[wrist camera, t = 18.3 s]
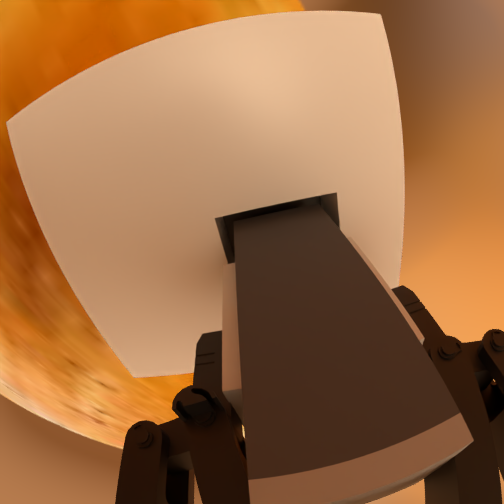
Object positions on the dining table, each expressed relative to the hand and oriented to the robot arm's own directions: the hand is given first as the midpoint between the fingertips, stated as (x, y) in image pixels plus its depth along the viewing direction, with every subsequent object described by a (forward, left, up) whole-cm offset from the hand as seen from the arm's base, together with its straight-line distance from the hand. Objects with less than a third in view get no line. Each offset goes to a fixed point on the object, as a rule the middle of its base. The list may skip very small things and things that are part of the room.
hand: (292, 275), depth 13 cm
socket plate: (-2, -3, -5) cm, 6 cm away
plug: (0, 0, -3) cm, 3 cm away
